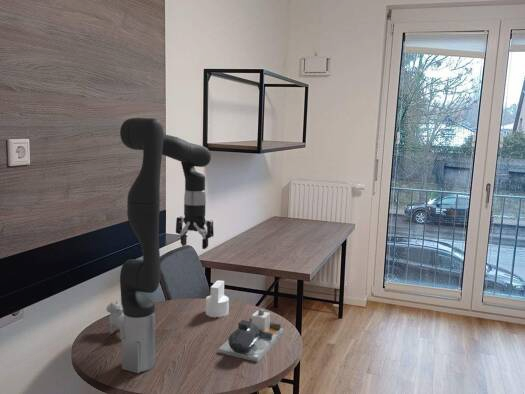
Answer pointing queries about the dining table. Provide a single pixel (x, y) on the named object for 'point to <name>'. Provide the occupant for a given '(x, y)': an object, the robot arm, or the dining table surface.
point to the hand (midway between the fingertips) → (194, 247)
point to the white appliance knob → (217, 301)
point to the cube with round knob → (261, 320)
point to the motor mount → (251, 340)
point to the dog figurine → (116, 318)
